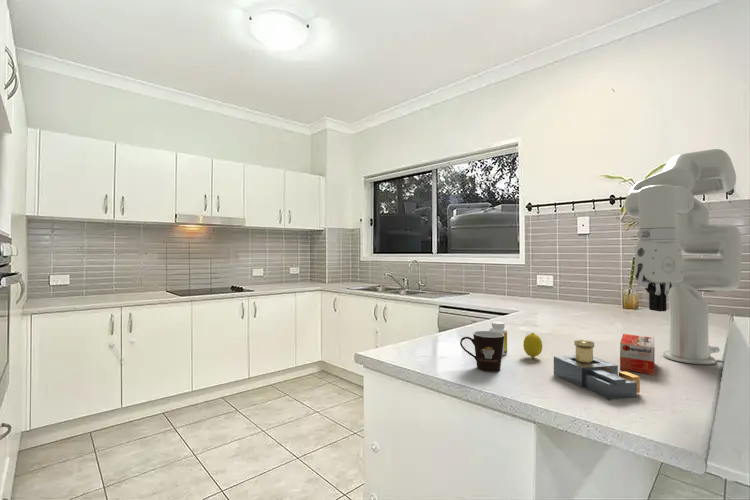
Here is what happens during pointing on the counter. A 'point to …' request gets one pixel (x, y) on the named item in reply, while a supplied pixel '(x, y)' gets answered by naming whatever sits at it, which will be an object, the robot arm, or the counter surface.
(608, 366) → the mount
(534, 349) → the lemon
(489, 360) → the coffee mug
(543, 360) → the counter surface
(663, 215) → the robot arm
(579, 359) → the block
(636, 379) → the lock pin
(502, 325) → the supplement bottle
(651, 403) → the counter surface
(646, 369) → the medicine box
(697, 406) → the counter surface
